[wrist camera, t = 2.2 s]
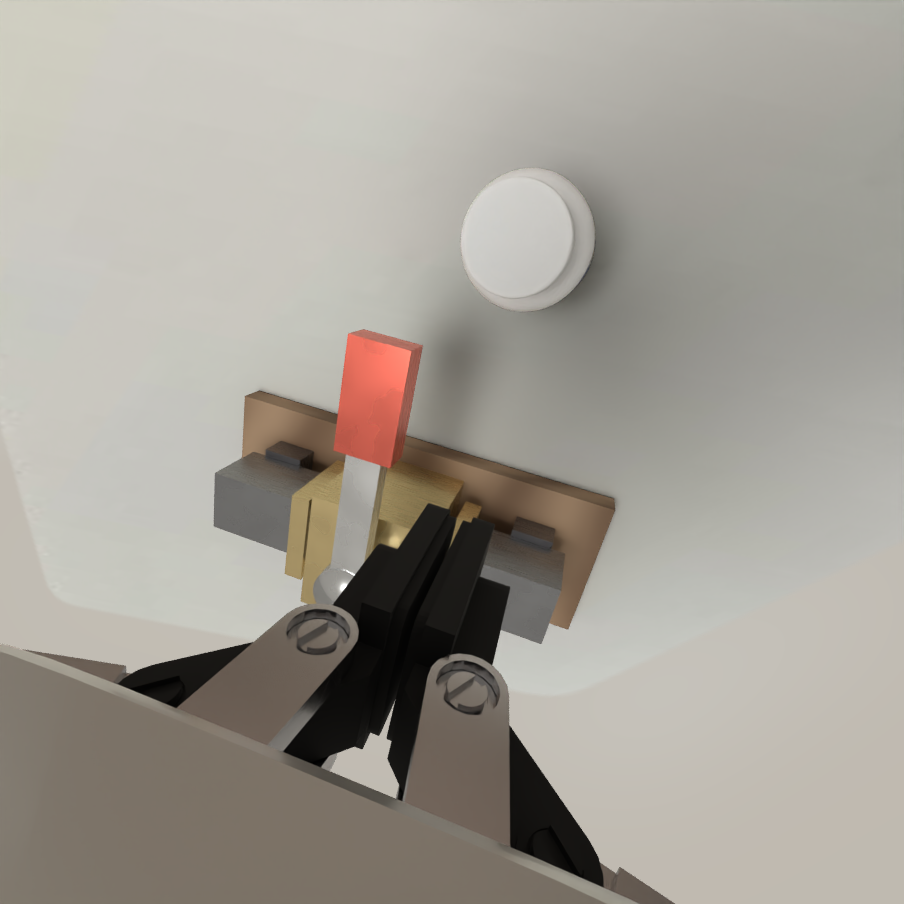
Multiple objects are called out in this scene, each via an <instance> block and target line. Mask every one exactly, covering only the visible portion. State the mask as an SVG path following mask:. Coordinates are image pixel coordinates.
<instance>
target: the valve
mask: <svg viewBox="0 0 904 904" xmlns="http://www.w3.org/2000/svg"><path fill="white" fill-rule="evenodd" d="M313 456H314V451H312V450H309V449H305V448H302V447H299V446H296V445H293V444H290V443H287V442H284V441H280V442H278V443H276V444H274V445H272V446H271V447H269V448H267V449H266V451H265V455H263V454H260V453H257V452H252V453H250V454H248V455H247V456H245V457H243V458H241V459H239V460H238V461H236V462H234V463H232V464H230V465H229V466H227V467H225V468H223V469H221V470H220V471H218V472H216V473H215V494H214V527H217V528H220V529H223V530H225V531H228V532H231V533H234V534H237V535H239V536H242V537H245V538H248V539H250V540H253V541H256V542H259V543H262V544H264V545H267V546H270V547H273V548H275V549H278V550H281V551H284V552H287V555H286V566H285V574H287V575H289V576H292V577H295V578H297V579H300V580H301V579H302V578H303V585H302V594H301V601H302V602H304V603H307V604H316V601H315V599H314V595H313V585H314V582H315V580H316V579H317V577H318V576H319V575H320V574H321V573H322V572H323V571H324V569H325V568H326V567H327V566H328V565H329V564H330V563H331V559H332V552H333V545H334V538H335V530H336V523H337V516H338V509H339V501H340V494H341V487H342V480H343V472H344V465H345V462H342V461H339V460H337V461H336V462H335V463H333V464H332V465H331V466H329V467H328V468H327V469H326V470H324V471H323V472H322V473H318V472H315V471H312V465H313ZM463 485H464V481H462V480H459V479H456V478H453V477H450V476H447V475H443V474H440V473H437V472H434V471H431V470H427V469H424V468H421V467H418V466H415V465H412V464H408V463H405V462H402V461H399V460H398V461H397V462H396V463H395V464H394V465H393V466H392V467H391V468H387V474H386V479H385V485H384V491H383V496H382V502H381V507H380V513H379V519H378V524H377V530H376V536H375V541H374V547H373V550H374V549H375V547H376V546H377V545H378V544H380V543H382V544H384V545H387V546H390V547H393V548H396V549H398V547H399V546H400V544H401V543H402V541H403V540H404V538H405V537H406V535H407V534H408V532H409V531H410V529H411V528H412V526H413V525H414V523H415V522H416V520H417V519H418V517H419V516H420V514H421V513H422V511H423V510H424V508H425V507H426V506H427V504H428V503H430V504H434V505H437V506H440V507H443V508H446V509H449V510H450V516H452V517H455V518H456V513H457V509H458V505H459V501H460V497H461V493H462V489H463ZM481 508H482V506H479V505H476V504H473V503H470V502H467V501H466V502H465V504H464V506H463V508H462V510H461V511H460V513H459V515H458V517H457V520H456V525H455V529H454V533H453V537H452V541H451V544H452V542H453V540H454V538H455V536H456V534H457V532H458V530H459V527H460V525H461V523H462V521H463V520H464V521H467V522H471V521H472V519H473V517H475V518H478V519H479V516H480V512H481ZM554 535H555V528H552V527H549V526H546V525H543V524H539V523H536V522H533V521H530V520H527V519H524V518H521V517H518V516H517V517H516V520H515V523H514V526H513V530H512V533H511V535H508V534H505V533H501V532H498V531H495V530H493V534H492V537H491V541H490V544H489V548H488V551H487V555H486V558H485V562H484V565H483V569H482V572H481V575H480V577H483V578H486V579H489V580H492V581H495V582H498V583H501V584H504V585H507V586H510V592H509V596H508V600H507V605H506V609H505V613H504V618H503V622H502V626H501V630H503V631H506V632H509V633H512V634H514V635H517V636H520V637H523V638H526V639H528V640H531V641H534V642H537V643H539V644H542V641H543V638H544V636H545V633H546V630H547V628H548V625H549V622H550V619H551V617H552V614H553V611H554V609H555V606H556V603H557V601H558V598H559V595H560V593H561V588H562V578H563V568H564V559H565V553H563V552H559V551H556V550H553V549H551V548H552V545H553V542H554ZM450 546H451V545H450Z"/></svg>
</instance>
